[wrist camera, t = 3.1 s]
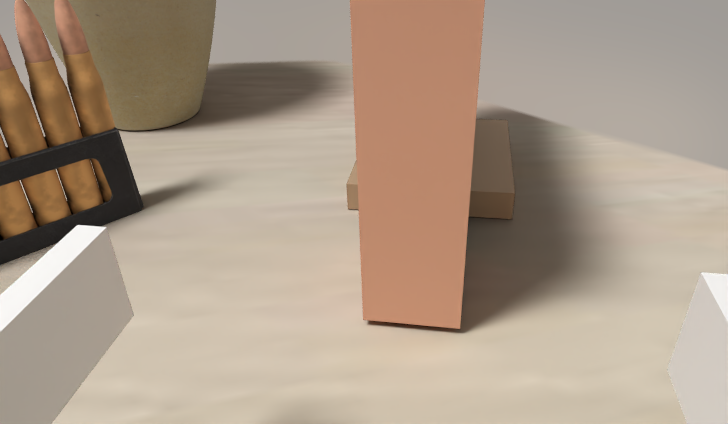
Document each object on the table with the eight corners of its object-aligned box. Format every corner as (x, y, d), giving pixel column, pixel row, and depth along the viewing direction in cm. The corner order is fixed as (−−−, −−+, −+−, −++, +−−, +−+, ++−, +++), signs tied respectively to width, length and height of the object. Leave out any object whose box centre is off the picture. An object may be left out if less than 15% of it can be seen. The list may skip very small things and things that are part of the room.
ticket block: (514, 251, 28) (555, -66, 21) (336, 238, 30) (316, -63, 22) (504, 136, 40) (528, -93, 33) (377, 131, 42) (372, -90, 34)
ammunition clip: (131, 197, 34) (72, -15, 28) (144, 209, 33) (86, -11, 27) (-79, 275, 28) (-214, 26, 22) (-72, 292, 27) (-213, 34, 21)
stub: (460, 328, 23) (488, -45, 16) (363, 319, 24) (348, -44, 17) (463, 245, 28) (486, -69, 21) (383, 239, 29) (378, -67, 22)
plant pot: (183, 164, 38) (122, -113, 30) (8, 141, 42) (-88, -108, 34) (279, 89, 50) (256, -123, 42) (136, 77, 54) (89, -118, 46)
